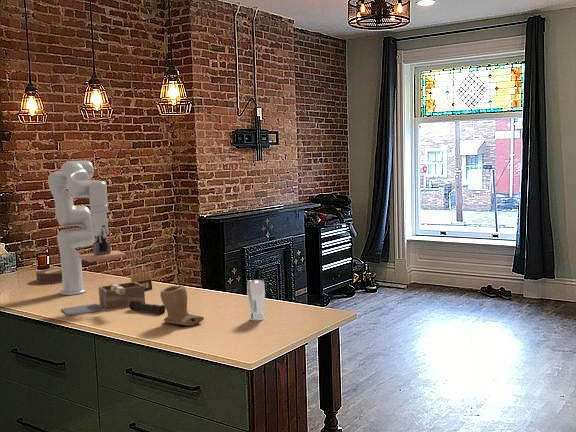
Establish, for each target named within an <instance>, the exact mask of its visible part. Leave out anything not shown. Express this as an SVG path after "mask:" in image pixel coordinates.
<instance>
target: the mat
mask: <svg viewBox="0 0 576 432" xmlns="http://www.w3.org/2000/svg"><path fill="white" fill-rule="evenodd" d="M60 310H61V311H62V312H63V313H64V314H65V315H66V316H68V317H73V316H80V315H85V314H93V313H99V312H103V311H105V308H104V307H102V306H101V305H100V304H97V303H90V304H84V305H78V306H72V307H64V308H60Z"/></svg>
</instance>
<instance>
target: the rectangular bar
mask: <svg viewBox="0 0 576 432" xmlns="http://www.w3.org/2000/svg"><path fill="white" fill-rule="evenodd" d="M118 284H119V283H116V282H112V283H110V286H111V290H112V291H114V292H116V293H118V294H119V295H124V294H125V288H123V287H121V286H119V285H118Z"/></svg>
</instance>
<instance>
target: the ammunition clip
mask: <svg viewBox="0 0 576 432" xmlns="http://www.w3.org/2000/svg"><path fill="white" fill-rule="evenodd" d="M151 276H152V275H151V269H150V265H148V266H144V267H143V266H141V268H140V267H137V268H136V267H134V269H133V268H130V282H137V283H139V284H141V285H143V286H144V292H146V291H151V290H153V283H152V277H151Z"/></svg>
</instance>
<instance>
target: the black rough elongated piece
mask: <svg viewBox="0 0 576 432" xmlns="http://www.w3.org/2000/svg"><path fill="white" fill-rule="evenodd" d="M129 310H130V311H133V312H147V313H153V314H158V315H159V316H161V315H164V314H165V312H166V308H165V306H164V304H161V305H159V304H154V303H153V304H150V303H146V302H145V303H141V301H137V300H132V301H131V302H130V306H129Z"/></svg>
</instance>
